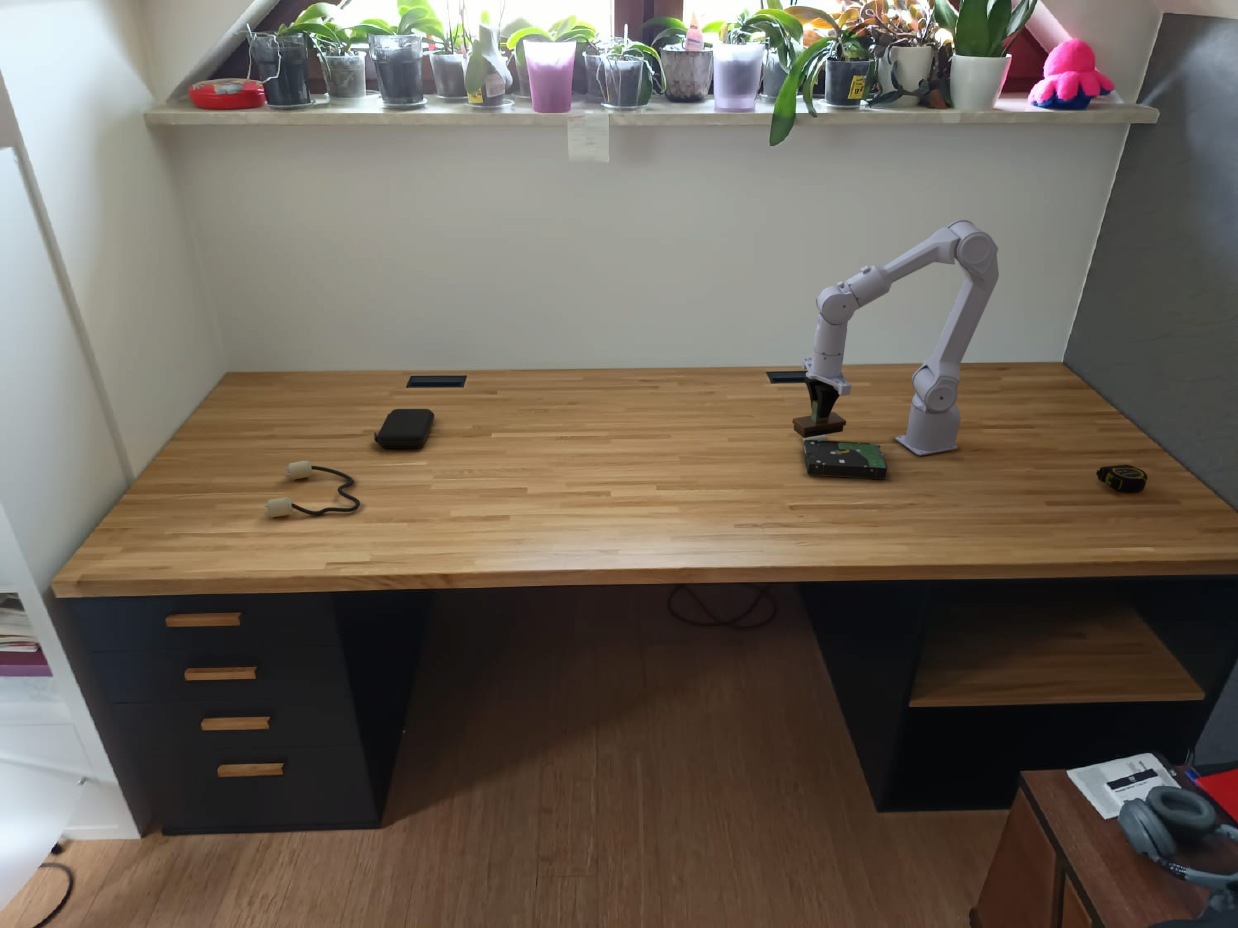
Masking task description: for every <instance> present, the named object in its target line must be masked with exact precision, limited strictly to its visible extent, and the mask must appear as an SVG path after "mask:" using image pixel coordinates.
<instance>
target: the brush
mask: <svg viewBox="0 0 1238 928" xmlns="http://www.w3.org/2000/svg"><path fill="white" fill-rule="evenodd" d="M791 422H792V424H793V431H794V432H796V433H797V434H798V435H799V436H800V437H802V439H803V438H808V437H814V436H820V435H825V436H826V435H830V434H838V433H842V432H843V431H844V427H845V426H847V420H846V419H844V418H843V417H842V416H841V415H840V414H838V413H836V411H831V413H830V415H829V417H826V418H819V417H818V400H814V401H813V405H812V409H811V413H810V415H806V416H805V415H804V416H800V417H793V418H792V421H791Z"/></svg>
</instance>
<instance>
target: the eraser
mask: <svg viewBox="0 0 1238 928" xmlns="http://www.w3.org/2000/svg"><path fill="white" fill-rule="evenodd" d="M804 440H822V441H829V439H828V438H827V436H826V435H820V436H814V437H808V438H803V437H802V441H803V442H804Z"/></svg>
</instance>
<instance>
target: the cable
mask: <svg viewBox="0 0 1238 928" xmlns="http://www.w3.org/2000/svg"><path fill="white" fill-rule="evenodd" d="M314 470H315V471H320V472H325V473H330V474H333V475H336V476H338V477H341V478H344V479H345V480H347V482H346V483H343V484H341V485H340V486H338V487H337V493H338V494H339V495H340V496H342V497H343V498H345V499H347V500H350V501H351V502H353V503H355V505H353V506H351V507H332V506H331V507H325V508H322V509H320V510H310V509H307V508H304V507H302V506H299V504H298V505H297V504H295V503H294V501H293V500H292V499H291V497H288V496H285V497H279V498H272V499H271V498H270V499H269V500H268V501H267V504H265V505H264V508H267V511H264V515H265V516H269V517H270V518H276V517H277V518H278V517H284V516H291V515H292V513H293V512H294V510H296V511H299V512H301V513H304V514H306V515H311V516H321V515H323V514H325V513H327V512H328V513H329V512H331V513H332V512H335V513H350V512H356V510H358V509H359V507H360V506H361V502H360V500H359V499H358V498H356V497H355V496H352V495H350V494H348V493H346V492H345V491H343V490H344V489H346V488H348V487H350V486H352V485H353V484H354V479H353V477H351V476H350V475H348V474H346V473H344V472H342V471H339V470H336V469H334V468H329V467H324V466H317V465H312V463H311V462H310V461H309V460H308V459H307V460H301V461H295V462H290V463H288V467H287V468H285V471H287V474H286V475H285V476H286V478H288V479H289V478H291V480H293V481H294V480H299V479H304V478H311V476H312V474H313V471H314Z"/></svg>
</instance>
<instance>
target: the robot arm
mask: <svg viewBox="0 0 1238 928" xmlns="http://www.w3.org/2000/svg"><path fill="white" fill-rule="evenodd" d="M998 251H999V247H998V245H997V244H996V242H995V240H994V239H993V238H992V236H991V235H990V234H989V233H987V232H985V231H983V230H981V229H980V228H979V227H977V226H976V225H975V224H974V222H972V221H970V220H967V219H958V220H955V221H953V222H951V223H950V224H948V225H947V226H943V227H941V228H938V230H936V231H935V232H934V233H933V234H932V235H931V236H929V237H928V238H926V239H925V240H923V241H921V242H920V243H918V244H917V245H915V246H914V247H912V248H911V249H909V250H908V251H906V252H904V253H903V254H901V255H900V256H898V257H897V258H894V259H893V260H892V261H890V262H888V263H887V264H886V265H883V266H882V265H876V264H873V265H871V266H868V265H865V266H863V267H861V268H860V271H861V272H859V273H857V274H855V275H853V276H852V277H850V278H848V279H847V280H845V281H843V280H841V281H839V282H837V285H834V286H833V285H830V286H827V287H825V288H824V289H823V290H821V292H820V294H819V295H818V296H817V298H815V304H816V308H817V310H818V311H819V312H818V318H817V324H816V328H815V336H814V343H813V352H812V357H808V358H802V359H801V367H800V368H801V369H803V370H807V372H806V373H805V377H804V383H805V386H806V388H807V391H808V394H809V395H808V396H809V400H810V407H811V409H810V410H812V405H813V401H814V400H818V417H819V418H826V417H829V415H830V413H831V412H832V410H833V408H834V406H835V405H836V403H837V400H838V399H839V397H840V396H841V397H842V396H848V395H849V396H850V395H851V390H852V384H850V383H849V382H848V380H847V379H846V376H845V375H844V373H843V371H842V370H843V363H844V355H845V349H846V348H845V347H846V341H847V333H848V324H849V323H848V322H849V321H850V320H851V319H852V318H853V316H854V314H855V312H856V311H857V310H859V309H860V308H863V307H864V306H866V305H868V304H870V303H872V302H874V301H875V300H877V299H879V298H881V297H882V296H884V295H886V294H888V293H889V292H890V290H891V288H892V285H893V283H894V282H895V283H896V282H897V281H899V280H901V279H903V278H905V277H907V276H909V275H911V274H913V273H915V272H917V271H919V270H921V269H923V268H926V267H927V266H930V265H931V264H933V263H939V264H945V265H955V264H956V263H955V260H956V261H957V262H958V265H959V267H960V268H961V270H962V272H963V274H964V276H965V279H964V281H963V283H962V285H961V288H960V289H959V292H958V295H957V297H956V299H955V301H954V304H953V306H952V309H951V311H950V313H949V315H948V318H947V320H946V322H945V324H944V327H943V330H942V332H941V333H940V336H939V338H938V341H937V344H936V346H935V348H934V351H933V353H932V354H930V355H928V356H927V357H926V358H924V360H923V363H922V365H921V366H920V367H918V369H916V371H914V373H913V375H912V377H911V386H912V389H913V390H914V391H915V393H914V396H913V398H912V399H911V404H910V410H909V416H908V421H907V426H906V432H905V435H898V436H895V441H897V442H899V443H900V444H901V445H902V446H904V447H906V449H908V450H909V451H911V452H912V453H913V454H915V455H916V456H918V457H920V456H927V455H932V454H937V453H942V452H948V451H954V450H957V449H958V448H959V447H958V445H956V442H957V437H958V433H959V428H960V424H961V418H962V417H961V411H960V408H959V407H958V405H957V404H956V403H957V400H958V386H959V384H960V382H961V369H960V366H961V363H962V360H963V358H964V356H965V354H966V352H967V350H968V347H969V345H970V343H971V340H972V338H973V336H974V334H975V332H976V330H977V328H978V325H979V323H980V320H981V318H982V316H983V314H984V311H985V309H986V307H987V305H988V303H989V301H990V299H991V296H992V294H993V292H994V289H995V288H996V286H997V283H998V280H999V277H1000V275H999V274H1000V271H999V261H998Z"/></svg>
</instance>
